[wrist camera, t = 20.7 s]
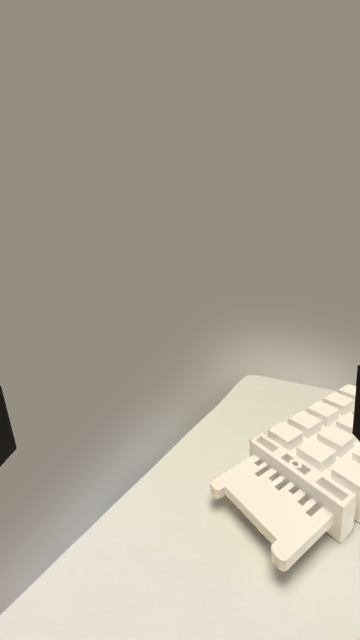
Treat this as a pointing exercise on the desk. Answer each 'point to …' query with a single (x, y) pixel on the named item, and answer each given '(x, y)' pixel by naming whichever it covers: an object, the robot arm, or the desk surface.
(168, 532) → the desk surface
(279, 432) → the organizer
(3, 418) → the robot arm
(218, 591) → the desk surface
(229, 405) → the desk surface
